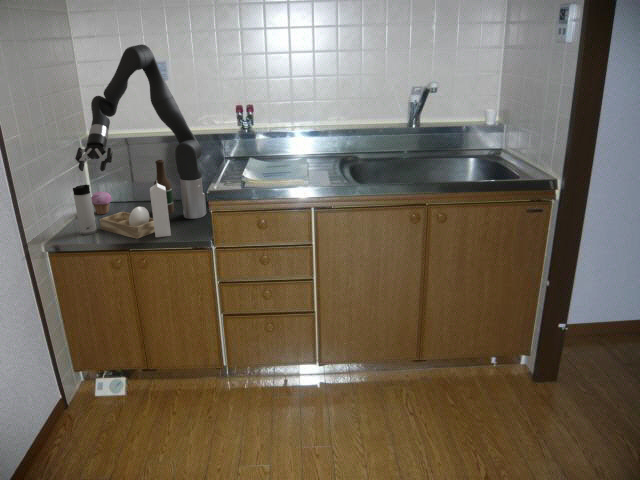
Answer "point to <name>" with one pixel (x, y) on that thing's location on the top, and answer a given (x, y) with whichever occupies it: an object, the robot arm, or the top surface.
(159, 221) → the milk
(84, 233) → the travel mug
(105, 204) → the cupcake
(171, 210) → the beer bottle
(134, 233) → the wooden compartment box
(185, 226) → the top surface
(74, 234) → the top surface
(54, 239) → the top surface
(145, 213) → the saucer
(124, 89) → the robot arm
